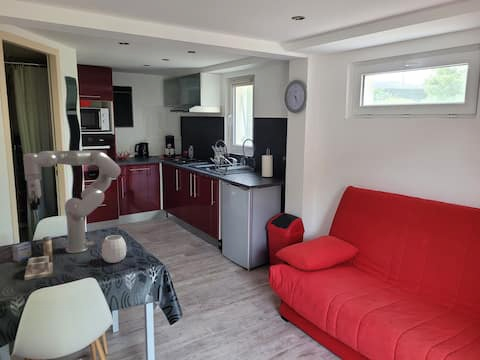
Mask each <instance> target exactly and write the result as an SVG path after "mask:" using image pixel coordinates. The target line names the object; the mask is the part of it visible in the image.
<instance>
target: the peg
mask: <svg viewBox="0 0 480 360" xmlns="http://www.w3.org/2000/svg"><path fill="white" fill-rule="evenodd" d="M42 245H43V256H49V263H51V262H53V261H54V260H53V259H54V258H53V247H52V246H53V245H52V236H44V237H42Z"/></svg>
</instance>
